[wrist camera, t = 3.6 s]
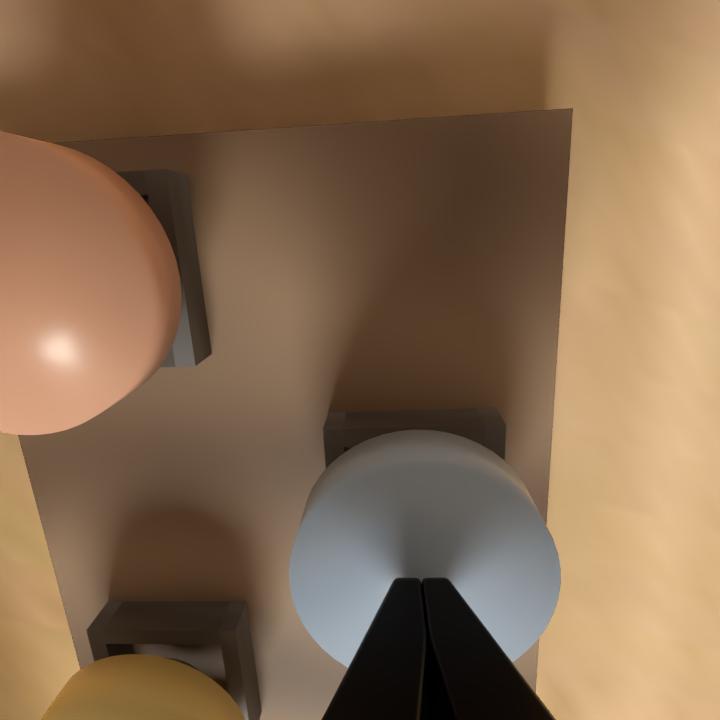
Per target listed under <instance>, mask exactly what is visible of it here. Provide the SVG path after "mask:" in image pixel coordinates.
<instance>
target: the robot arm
mask: <svg viewBox="0 0 720 720" xmlns="http://www.w3.org/2000/svg"><path fill="white" fill-rule="evenodd" d="M322 720H556V719H555V718H554V717H553V715H552V714H551V713H550V711H549V710H548V709H547V707H546V706H545V705H544V704H543V702H542V701H541V700H540V698H539V697H538V696H537V694H536V693H535V692H534V690H533V689H532V688H531V686H530V685H529V684H528V682H527V681H526V680H525V679H524V677H523V676H522V675H521V673H520V672H519V671H518V669H517V668H516V667H515V665H514V664H513V663H512V661H511V660H510V659H509V657H508V656H507V655H506V654H505V652H504V651H503V650H502V648H501V647H500V646H499V644H498V643H497V642H496V640H495V639H494V638H493V636H492V635H491V634H490V632H489V631H488V630H487V629H486V627H485V626H484V625H483V623H482V622H481V621H480V619H479V618H478V617H477V615H476V614H475V613H474V611H473V610H472V609H471V607H470V606H469V605H468V604H467V602H466V601H465V600H464V598H463V597H462V596H461V594H460V593H459V592H458V590H457V589H456V588H455V586H454V585H453V584H452V582H451V581H450V580H449V579H447V578H445V577H426V578H424V579H423V580H422V583H421V581H420V579H419V578H416V577H414V578H396V579H394V580H393V582H392V584H391V586H390V588H389V590H388V592H387V593H386V595H385V597H384V599H383V601H382V603H381V605H380V607H379V609H378V611H377V613H376V615H375V617H374V619H373V621H372V623H371V625H370V626H369V628H368V630H367V632H366V634H365V636H364V638H363V640H362V642H361V644H360V646H359V648H358V650H357V652H356V654H355V656H354V658H353V659H352V661H351V663H350V665H349V667H348V669H347V671H346V673H345V675H344V677H343V679H342V681H341V683H340V685H339V687H338V689H337V691H336V692H335V694H334V696H333V698H332V700H331V702H330V704H329V706H328V708H327V710H326V712H325V714H324V716H323V718H322Z"/></svg>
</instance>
